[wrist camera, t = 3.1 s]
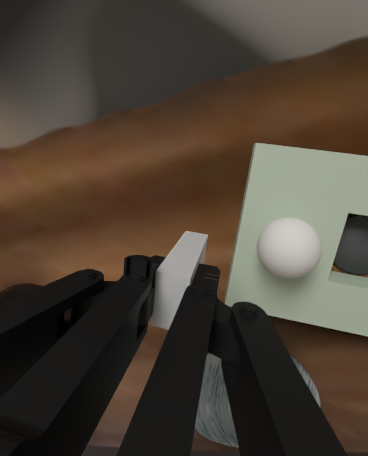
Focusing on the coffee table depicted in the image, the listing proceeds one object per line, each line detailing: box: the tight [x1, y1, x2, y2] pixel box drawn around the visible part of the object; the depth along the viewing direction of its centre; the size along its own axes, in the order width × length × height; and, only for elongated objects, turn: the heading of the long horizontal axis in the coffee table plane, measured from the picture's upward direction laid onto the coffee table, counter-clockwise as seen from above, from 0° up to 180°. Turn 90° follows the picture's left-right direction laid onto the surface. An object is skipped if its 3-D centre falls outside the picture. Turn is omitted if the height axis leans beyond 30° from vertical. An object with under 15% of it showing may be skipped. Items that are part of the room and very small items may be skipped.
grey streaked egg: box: [195, 353, 320, 448], centre depth 28 cm, size 14×10×10 cm
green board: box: [225, 143, 368, 336], centre depth 24 cm, size 18×16×3 cm
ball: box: [257, 217, 322, 278], centre depth 21 cm, size 5×5×5 cm
